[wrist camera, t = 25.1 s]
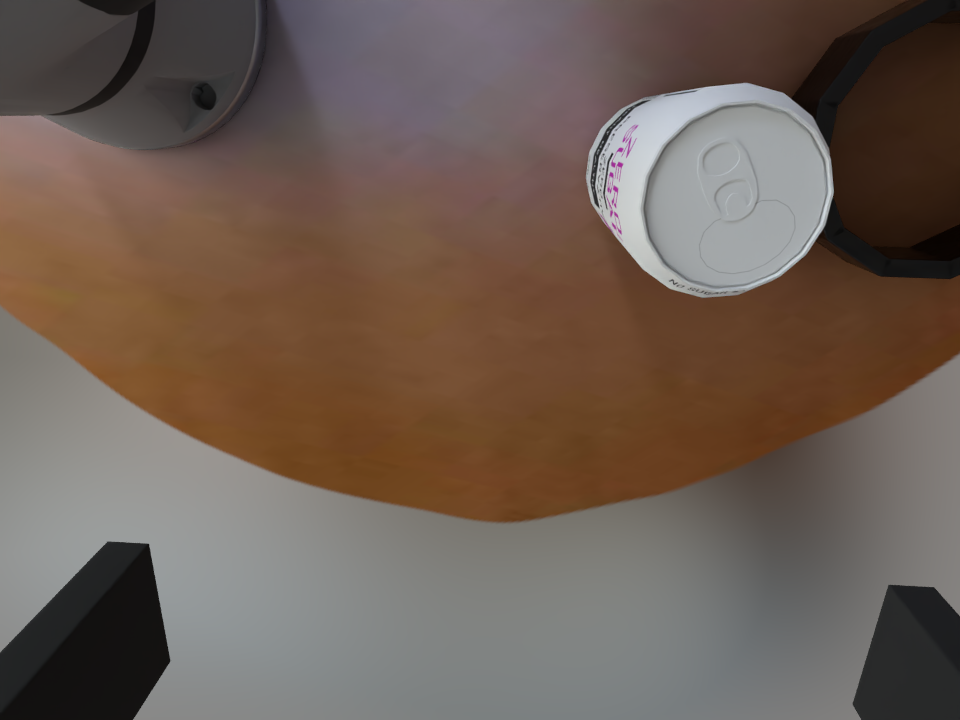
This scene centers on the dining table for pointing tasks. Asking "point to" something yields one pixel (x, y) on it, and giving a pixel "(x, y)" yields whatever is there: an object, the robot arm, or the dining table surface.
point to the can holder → (821, 99)
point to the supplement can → (713, 186)
